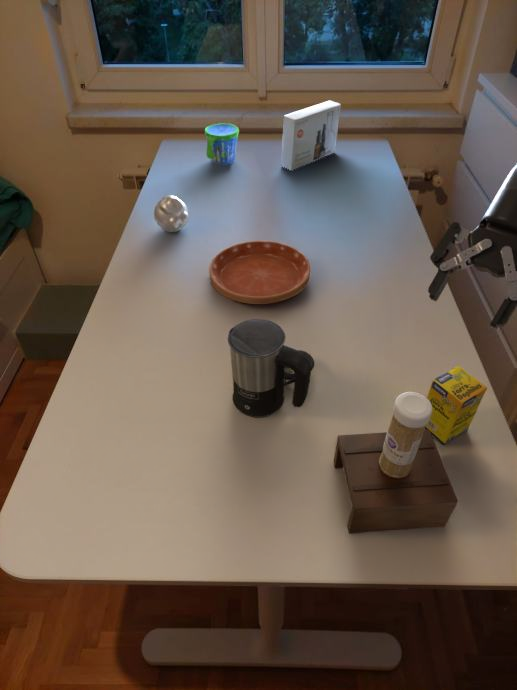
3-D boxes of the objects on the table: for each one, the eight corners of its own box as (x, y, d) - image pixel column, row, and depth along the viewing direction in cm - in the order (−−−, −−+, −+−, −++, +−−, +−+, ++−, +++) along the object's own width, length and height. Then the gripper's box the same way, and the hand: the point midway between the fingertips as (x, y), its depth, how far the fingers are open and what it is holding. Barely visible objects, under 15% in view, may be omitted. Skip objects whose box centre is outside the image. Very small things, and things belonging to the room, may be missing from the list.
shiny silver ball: (154, 240, 129) (148, 204, 122) (158, 221, 136) (153, 186, 129) (189, 239, 129) (185, 203, 122) (192, 220, 136) (188, 185, 129)
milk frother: (227, 415, 87) (222, 353, 77) (241, 352, 98) (239, 291, 88) (309, 423, 85) (315, 362, 75) (314, 359, 97) (320, 298, 87)
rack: (419, 456, 80) (429, 428, 75) (445, 526, 72) (458, 500, 67) (333, 461, 80) (337, 434, 75) (348, 534, 71) (354, 508, 66)
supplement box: (444, 447, 82) (462, 404, 74) (416, 423, 85) (431, 379, 78) (468, 431, 84) (488, 387, 76) (441, 408, 88) (457, 364, 80)
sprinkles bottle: (371, 465, 71) (387, 403, 62) (391, 446, 73) (409, 384, 64) (398, 485, 69) (419, 425, 59) (417, 466, 71) (440, 404, 62)
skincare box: (292, 172, 157) (294, 119, 147) (280, 166, 160) (281, 115, 150) (336, 153, 168) (341, 103, 157) (324, 148, 171) (328, 99, 160)
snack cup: (221, 173, 157) (219, 140, 150) (195, 165, 162) (192, 133, 155) (250, 156, 167) (249, 124, 160) (225, 149, 171) (223, 118, 164)
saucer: (189, 280, 116) (188, 267, 113) (259, 242, 128) (259, 229, 125) (260, 325, 104) (260, 311, 101) (329, 279, 116) (331, 265, 113)
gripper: (471, 172, 64) (407, 283, 66) (588, 207, 57) (514, 332, 59) (477, 196, 71) (419, 297, 73) (584, 230, 64) (516, 342, 66)
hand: (461, 312), depth 66 cm, fingers open, 8 cm apart
